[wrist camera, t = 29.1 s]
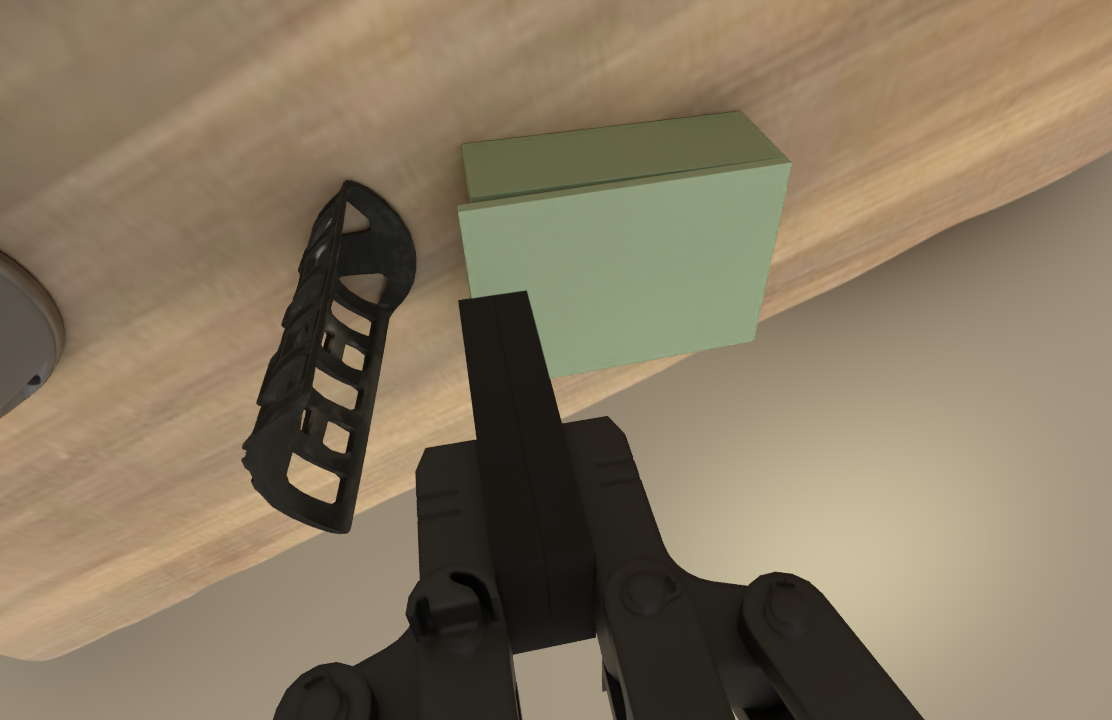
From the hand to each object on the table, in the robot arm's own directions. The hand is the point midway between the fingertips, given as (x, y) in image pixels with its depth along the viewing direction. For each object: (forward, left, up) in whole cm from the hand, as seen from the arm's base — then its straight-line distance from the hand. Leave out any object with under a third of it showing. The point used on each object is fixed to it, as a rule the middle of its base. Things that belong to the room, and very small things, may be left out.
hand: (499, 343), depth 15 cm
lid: (+9, -16, -23) cm, 30 cm away
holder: (-8, -16, -31) cm, 36 cm away
